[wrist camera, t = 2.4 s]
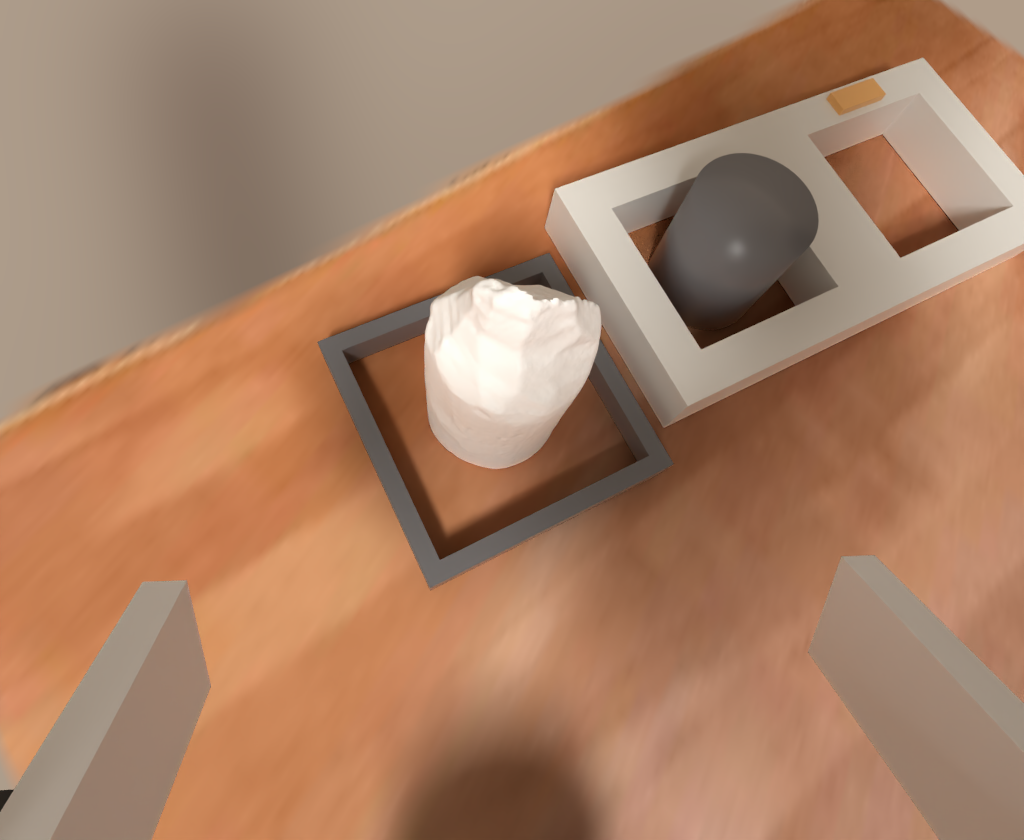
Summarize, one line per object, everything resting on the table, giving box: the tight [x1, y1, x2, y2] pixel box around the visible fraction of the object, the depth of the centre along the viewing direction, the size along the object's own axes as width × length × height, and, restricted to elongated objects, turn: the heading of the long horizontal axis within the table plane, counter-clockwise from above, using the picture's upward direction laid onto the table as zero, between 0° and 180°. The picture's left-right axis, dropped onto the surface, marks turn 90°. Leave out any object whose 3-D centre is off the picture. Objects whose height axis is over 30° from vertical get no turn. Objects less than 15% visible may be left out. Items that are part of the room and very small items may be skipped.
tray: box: [318, 253, 673, 590], centre depth 28 cm, size 12×12×2 cm
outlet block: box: [545, 58, 1024, 428], centre depth 31 cm, size 12×24×6 cm, turn 118°
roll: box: [424, 276, 601, 469], centre depth 23 cm, size 6×12×6 cm
